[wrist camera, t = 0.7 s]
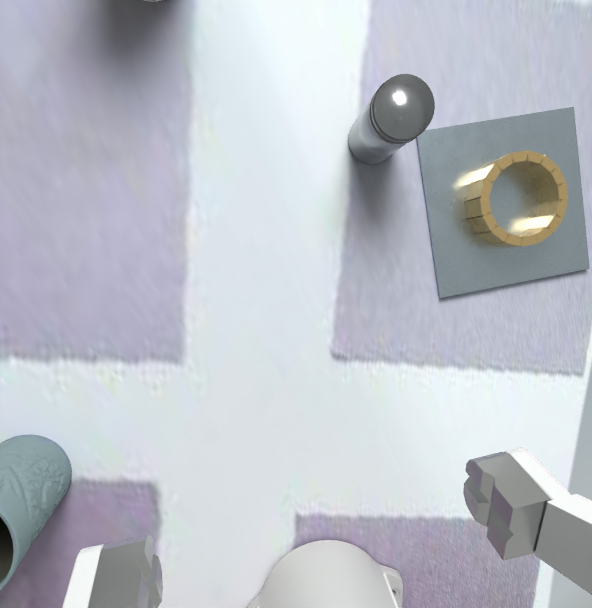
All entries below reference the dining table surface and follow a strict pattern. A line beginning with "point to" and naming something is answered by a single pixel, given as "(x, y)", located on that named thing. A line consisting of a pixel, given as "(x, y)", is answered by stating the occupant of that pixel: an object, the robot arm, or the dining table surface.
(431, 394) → the dining table surface
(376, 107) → the cylinder
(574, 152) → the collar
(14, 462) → the grey green cup
